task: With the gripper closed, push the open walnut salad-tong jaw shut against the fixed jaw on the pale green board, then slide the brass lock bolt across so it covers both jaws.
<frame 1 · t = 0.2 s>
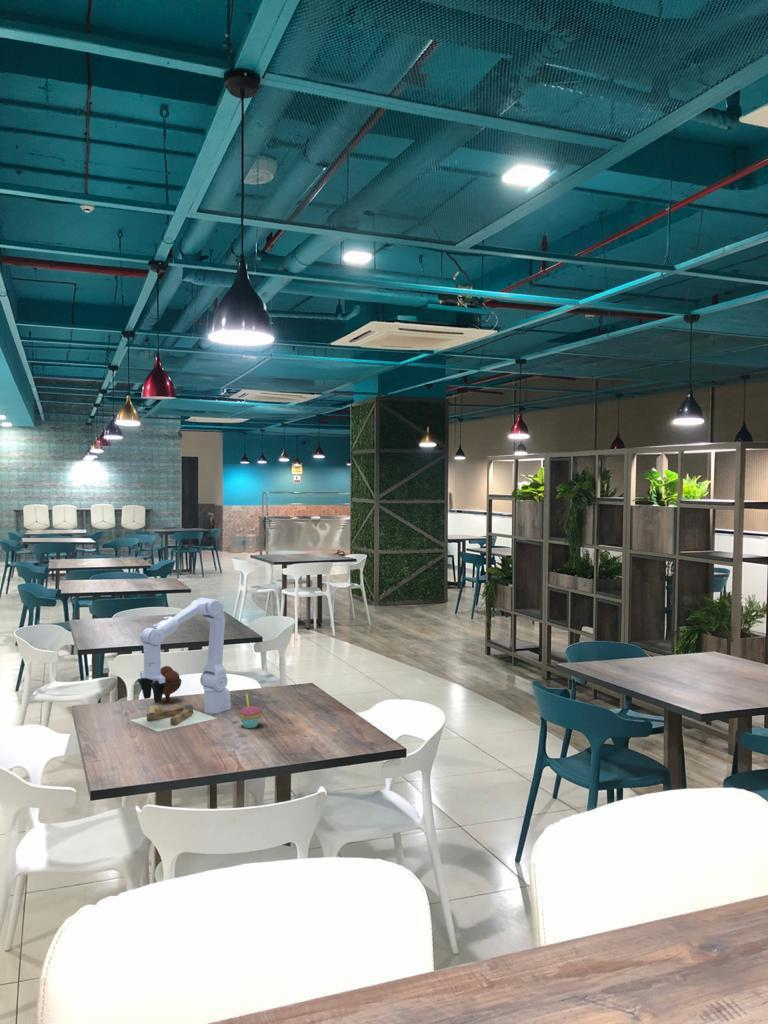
hand: (152, 700, 288), 10 cm above the table, tool pointing down, fingers open, 7 cm apart
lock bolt: (155, 709, 296), point 5 cm above the table, slide at 0.0 cm
cupcake: (250, 726, 291), on the table
ice cream bowl: (167, 705, 321), on the table
serving board: (173, 721, 296), on the table
tong jaw: (181, 716, 295), point 2 cm above the table, hinge at 35.0°
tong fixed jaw: (188, 713, 304), resting on serving board
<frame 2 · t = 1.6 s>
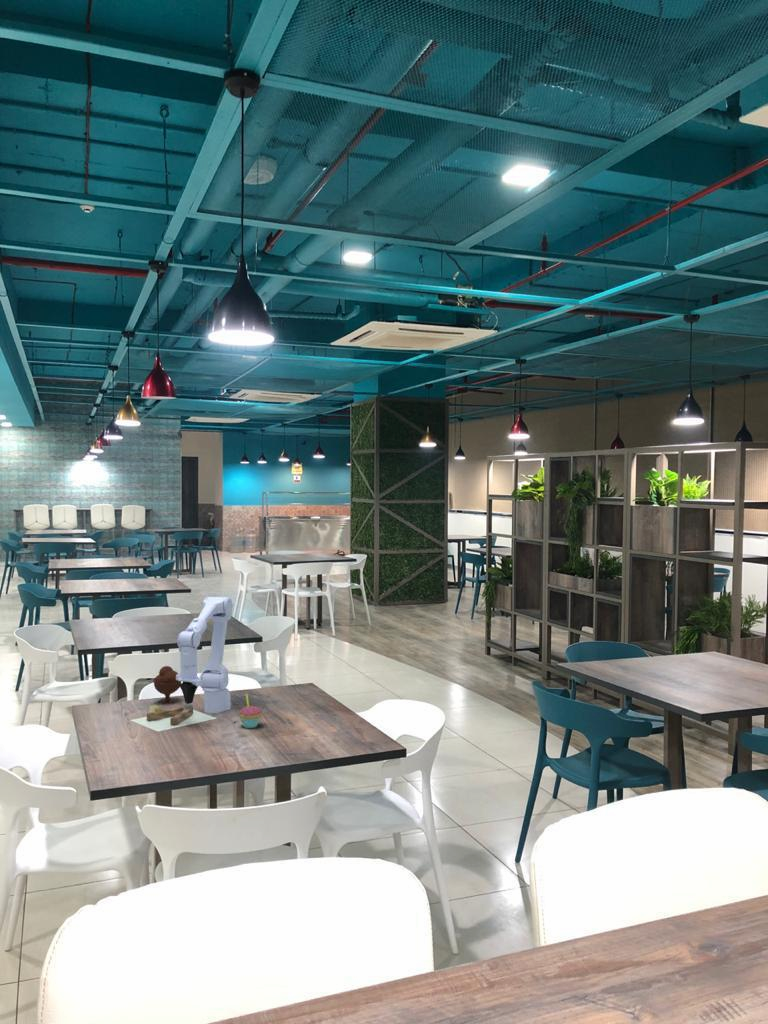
hand: (188, 703, 288), 9 cm above the table, tool pointing down, fingers closed
nothing on the table moved.
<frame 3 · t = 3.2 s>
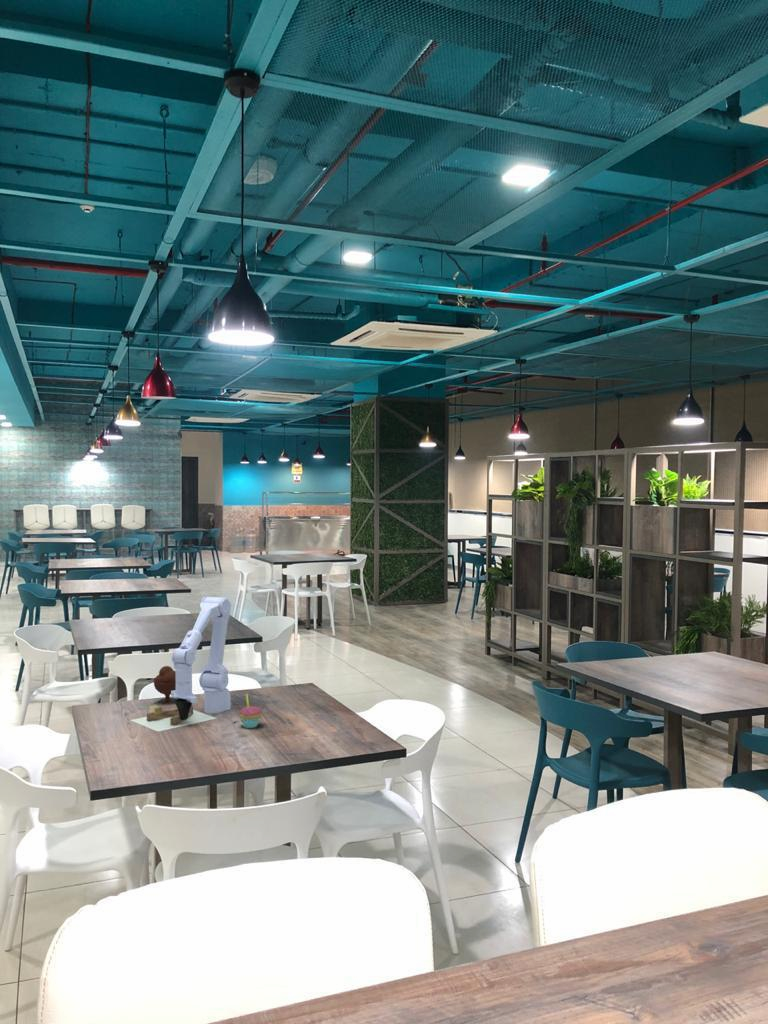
hand: (183, 719, 291), 2 cm above the table, tool pointing down, fingers closed, pressing on tong jaw
tong jaw: (181, 716, 295), point 2 cm above the table, hinge at 35.0°, touching gripper
everything else where it was.
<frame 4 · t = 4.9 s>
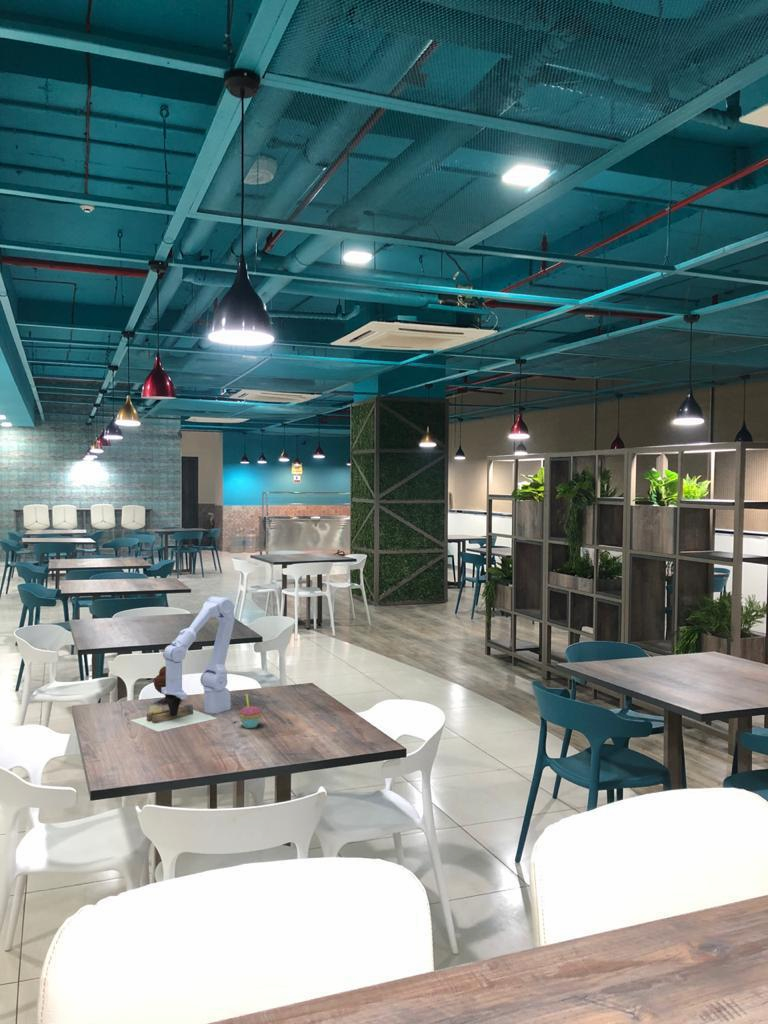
hand: (173, 715, 296), 2 cm above the table, tool pointing down, fingers closed
tong jaw: (170, 715, 296), point 2 cm above the table, hinge at 4.7°, touching gripper
everything else where it was.
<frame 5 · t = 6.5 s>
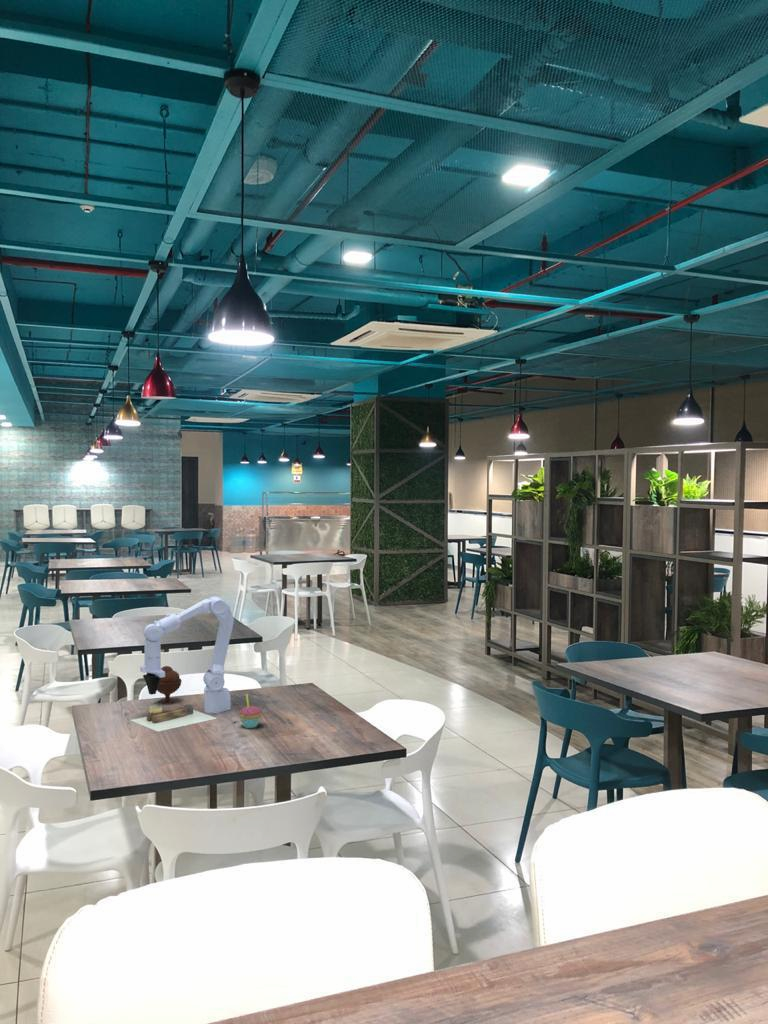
hand: (152, 693, 299), 10 cm above the table, tool pointing down, fingers closed
tong jaw: (170, 715, 296), point 2 cm above the table, hinge at 4.6°
everything else where it was.
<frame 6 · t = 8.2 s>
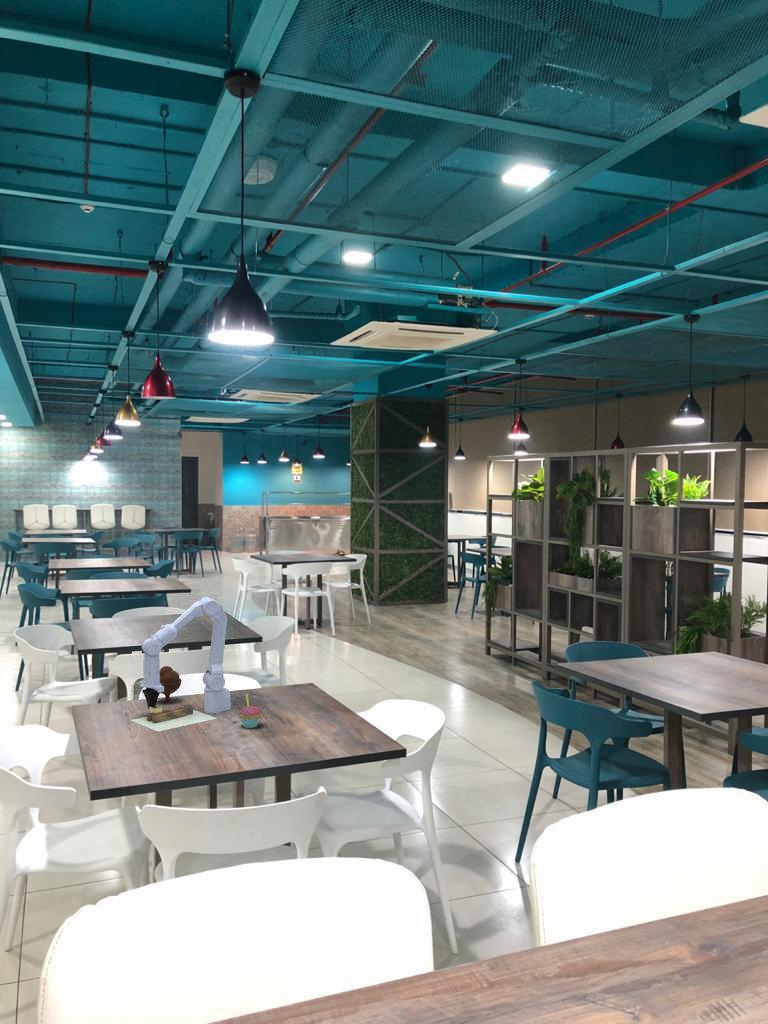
hand: (151, 708, 298), 4 cm above the table, tool pointing down, fingers closed
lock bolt: (155, 709, 295), point 5 cm above the table, slide at 0.2 cm, touching gripper
everything else where it was.
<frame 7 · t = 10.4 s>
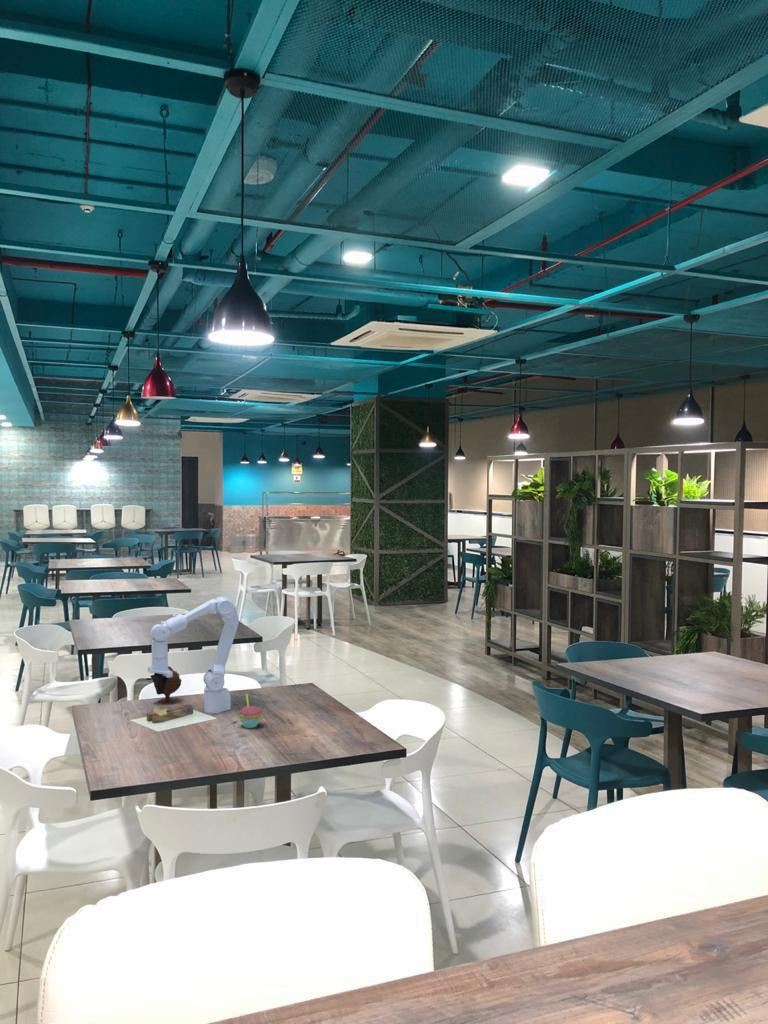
hand: (160, 693, 300), 9 cm above the table, tool pointing down, fingers closed
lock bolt: (160, 711, 293), point 5 cm above the table, slide at 3.3 cm
everything else where it was.
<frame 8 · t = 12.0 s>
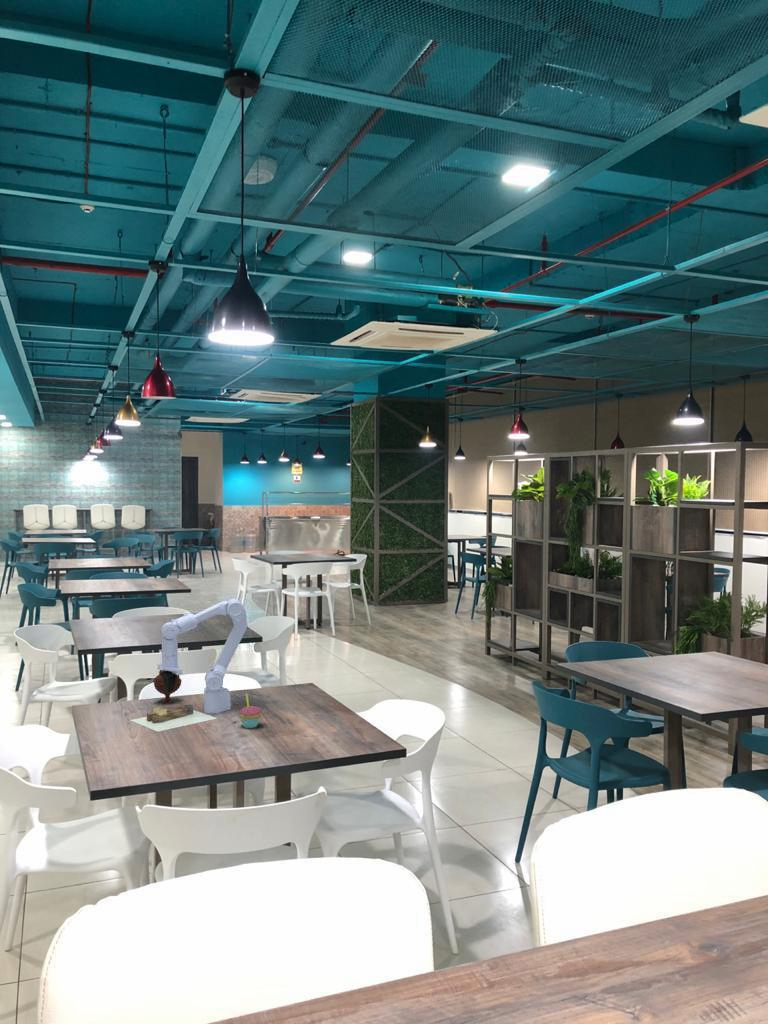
hand: (169, 691, 304), 9 cm above the table, tool pointing down, fingers closed
nothing on the table moved.
at the end: tong jaw at +5° (first picture: +35°); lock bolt slide at 3.3 cm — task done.
